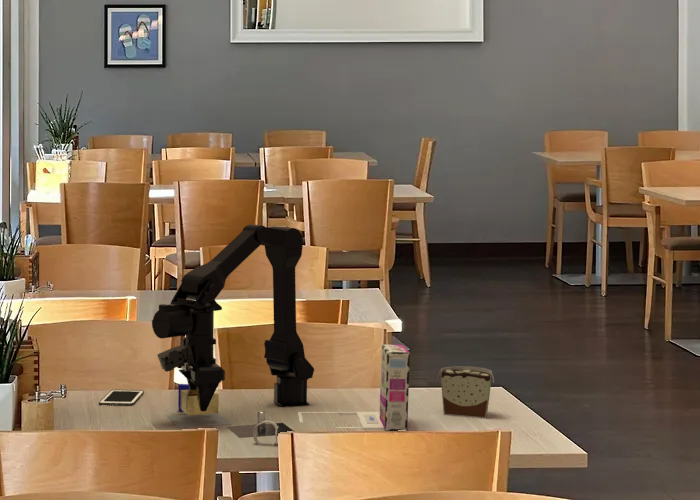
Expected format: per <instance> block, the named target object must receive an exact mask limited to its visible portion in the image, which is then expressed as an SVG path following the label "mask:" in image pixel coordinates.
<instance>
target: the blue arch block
mask: <svg viewBox="0 0 700 500" xmlns="http://www.w3.org/2000/svg"><path fill="white" fill-rule="evenodd" d="M181 390H189V386H188V383H180V384H178V390H177V391H178V392H177V393H178V399H177V400H178V403H177V404H178V408H177V409H178V411H180V412H179V413H184V412H183V411H182V410H181ZM178 411H177V412H178Z"/></svg>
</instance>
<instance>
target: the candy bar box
mask: <svg viewBox="0 0 700 500" xmlns="http://www.w3.org/2000/svg"><path fill="white" fill-rule="evenodd" d="M380 353H381V354H380V355H381V356H380V357H381V358H380V359H381V360H380V361H381V363H380V385H379V386H380V390H379V391H380V392H379V393H380V394H379V412H380V420H381V422H382V424H383V427H384V430H383V431H385V432H399V431H398V430H407V431H408V424H409V423H408V419H409V417H408V416H409V395H410V394H409V392H410V391H409V389H410V367H411V366H410V359H411V353H410V351H409V350H408V349H407V348H406V347H405V345H403V344H396V343H395V344H390V343H389V344H386V343H385V344H381V352H380Z"/></svg>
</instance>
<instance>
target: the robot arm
mask: <svg viewBox="0 0 700 500" xmlns="http://www.w3.org/2000/svg"><path fill="white" fill-rule="evenodd" d="M260 246H263V247H264V250H265V256H266V258H267V259H268V263H270V265H271V269H272V292H273V293H272V297H273V305H272V306H273V333H272V335H271V336H270V339H265V340H264V344H263V345H264V356H263V358H264V359H265V360H266V365H267V366H269V371H270V374H271V376H276V382H274V384H273V402H274V403H275V404H277V405H278V406H280V407H281V408H286V407H287V408H289V407H291V408H292V407H303V406H304V407H305V406H306V407H307V406H310V402H308V380H309V379H312V378H313V377H314V372H315V368H314V366H313V365H312V364H311V363H310V362H309V360H308V359H307V358H306V355H305V348H304V344H303V342H302V339H301V338H300V335H299V334H298V332H297V302H296V301H297V295H296V291H297V289H296V267H297V265H298V263H299V261H300V259H301V257H302V255H303V247H304V237H303V234H302V232H301V231H300V230H299V229H297V228H295V227H285V226H271V227H268V226H265V225H262V224H251V223H250V224H248V225H245V226H244V227H243V228H242V231H241V232H240V233H239V234H237V235H236V236H235V238H234V239H233V240H231V241H230V242H229V243H228V244H227V245H226V246H225V247H224V248H223V249H222V250H220V252H219V253H218V254H216V255H215V256H214V257H213V258H212V259H211V260H210V261H208V262H207V263H204V264H201V265H199V266H196V267H195V268H193V269H190V271H188V272H187V273H186V274H184V275H183V276H182V278H181V281H180V282H181V284H180V286H178V289H177V290H176V292H175V294H174V296H173V298H172V299H171V301H170V304H166V303H164V304H163V303H161V304H159V305H158V310H157V311H156V312H155V313H154V315H153V318H152V320H151V327H152V331H153V333H154V335H155V336H156V338H158V339H162V340H163V339H169V338H174V337H175V338H177V337H183V338H182V339H181V342H182V343H181V344H180V345H178V346H175V347H171V348H169V349H167V350H165V351H162V352H160V353H157V358H158V360H159V363H160V367H161V370H163V371H164V372H170V371H173V370H174V369H175V368H178V371H179V373H180V374H182V375H183V377H184V378H186V381H187V384H188V386H189V390H191V389H197V392H198V398H199V405H200V410H201V411H206V410H207V408H208V406H209V404H210V401H211V399H212V397H213V395H214V393H216V390H217V388H218V387H219V385H220V383H222V381H225V380H226V376H225V375H226V373H225V372H226V370H224V369H223V367H221V365H218V364H217V358H215V357H214V348H215V347H214V346H215V345H217V339H216V338H214V336H215V335H214V331H215V329H214V327H215V326H214V325H215V324H214V322H215V321H214V319H215V317H214V315H215V313H214V312H218V311H222V310H223V307H222V306H221V305H220V304H219V303H218V302H217V301H216V298H217V297H218V296H219V294H220V293H222V292H221V291H222V290H223V289H224V288H225V286H226V285H225V284H226V280H227V279H228V277H229V276H230V275H231V274H232V273H233V272H234V271H235V270H236V269H237V268H238V267H239V266H240V265H242V263H244V262H245V260H246V259H247V258H249V257H250V255H252V254H253V253H254V252H255V251H256V250H257V249H258V248H260ZM181 368H182V369H181Z"/></svg>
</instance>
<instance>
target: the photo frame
mask: <svg viewBox="0 0 700 500" xmlns="http://www.w3.org/2000/svg"><path fill="white" fill-rule="evenodd" d="M302 413H303V414H309V413H310V414H313V413H314V414H315V413H316V414H318V413H319V414H330V413H331V414H332V413H334V414H338V415H339V416H357V419H358V421H359V424H360V426H337V429H338V428H339V429H341V428H343V429H345V428H346V429H351V428H352V429H354V428H359V429H362V430H364V431H385V430H384V427H383V424H382V422H381V420H380V411H298V412H297V414H298V418H299V423H304V419H303V415H302Z"/></svg>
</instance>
